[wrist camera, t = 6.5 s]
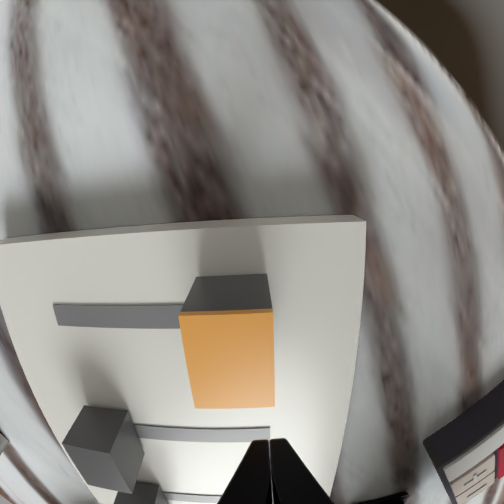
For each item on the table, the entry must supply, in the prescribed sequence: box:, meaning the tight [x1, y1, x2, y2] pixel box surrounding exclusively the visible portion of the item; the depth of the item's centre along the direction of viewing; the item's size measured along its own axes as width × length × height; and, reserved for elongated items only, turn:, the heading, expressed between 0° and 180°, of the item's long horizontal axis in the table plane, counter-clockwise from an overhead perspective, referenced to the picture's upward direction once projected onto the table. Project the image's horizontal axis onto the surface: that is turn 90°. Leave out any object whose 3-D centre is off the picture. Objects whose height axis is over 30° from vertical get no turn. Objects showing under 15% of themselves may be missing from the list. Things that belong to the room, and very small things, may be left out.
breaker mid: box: [62, 405, 145, 494], centre depth 15 cm, size 3×4×4 cm
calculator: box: [423, 380, 504, 504], centre depth 19 cm, size 11×4×15 cm
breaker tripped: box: [178, 273, 275, 409], centre depth 12 cm, size 3×4×4 cm
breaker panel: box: [0, 215, 366, 504], centre depth 17 cm, size 20×24×2 cm
